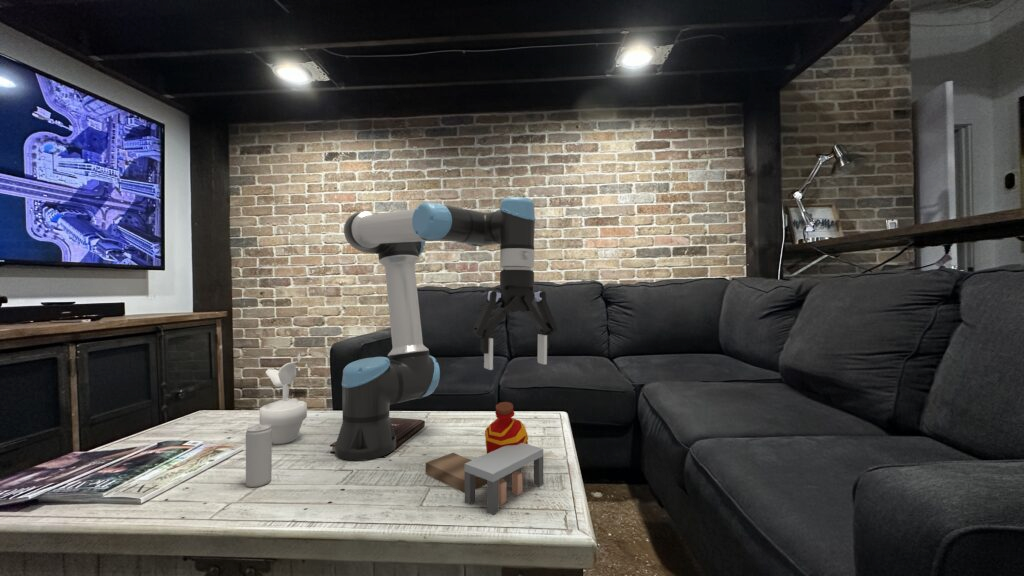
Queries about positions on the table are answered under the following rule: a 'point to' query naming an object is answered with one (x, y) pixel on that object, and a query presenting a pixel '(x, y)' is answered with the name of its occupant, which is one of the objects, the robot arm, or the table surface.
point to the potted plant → (284, 406)
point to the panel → (451, 471)
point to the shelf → (502, 472)
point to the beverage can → (258, 455)
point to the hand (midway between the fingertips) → (516, 366)
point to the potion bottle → (504, 429)
